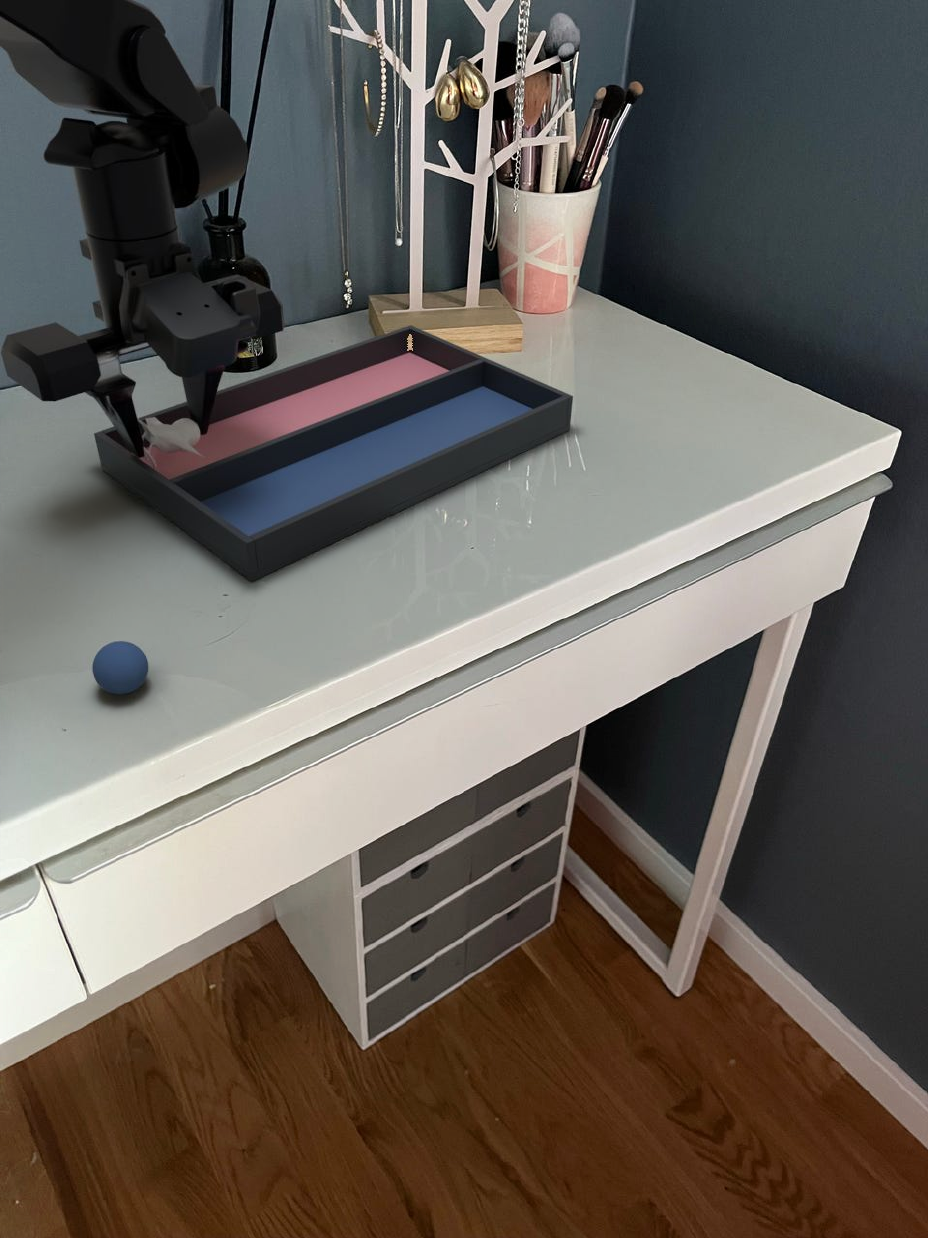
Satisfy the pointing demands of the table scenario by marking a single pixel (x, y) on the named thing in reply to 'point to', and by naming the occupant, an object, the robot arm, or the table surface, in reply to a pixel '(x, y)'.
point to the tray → (337, 445)
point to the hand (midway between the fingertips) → (170, 444)
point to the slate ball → (120, 667)
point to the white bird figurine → (170, 436)
